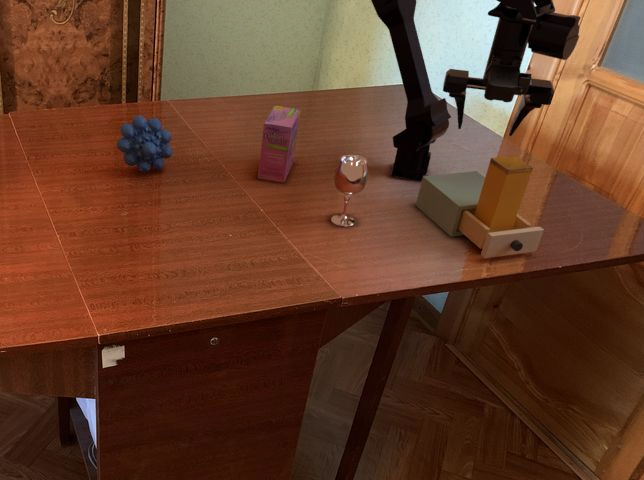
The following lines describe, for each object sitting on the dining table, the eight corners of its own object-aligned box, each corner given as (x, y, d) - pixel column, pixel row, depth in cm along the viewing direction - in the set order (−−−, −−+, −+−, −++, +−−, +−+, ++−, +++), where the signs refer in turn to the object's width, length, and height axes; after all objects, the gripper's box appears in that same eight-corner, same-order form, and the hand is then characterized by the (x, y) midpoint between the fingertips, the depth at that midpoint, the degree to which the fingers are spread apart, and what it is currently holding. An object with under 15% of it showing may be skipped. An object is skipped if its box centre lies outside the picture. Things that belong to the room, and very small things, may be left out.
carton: (486, 239, 133) (508, 170, 125) (470, 226, 136) (490, 158, 128) (509, 236, 134) (533, 167, 126) (493, 223, 137) (515, 155, 129)
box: (284, 183, 153) (292, 126, 146) (257, 179, 154) (263, 122, 147) (293, 163, 161) (301, 108, 153) (267, 159, 162) (273, 105, 155)
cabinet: (505, 230, 140) (515, 200, 136) (450, 236, 137) (459, 206, 133) (468, 199, 149) (476, 170, 146) (415, 205, 147) (422, 176, 143)
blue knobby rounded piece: (124, 184, 150) (122, 126, 143) (114, 170, 155) (112, 113, 148) (178, 177, 154) (180, 119, 146) (167, 163, 159) (168, 107, 151)
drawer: (540, 254, 131) (548, 232, 128) (488, 261, 129) (495, 239, 126) (497, 220, 141) (504, 199, 138) (448, 226, 138) (454, 205, 136)
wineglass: (360, 216, 142) (372, 156, 135) (356, 230, 138) (368, 169, 131) (330, 211, 144) (340, 151, 136) (324, 224, 139) (334, 163, 132)
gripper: (453, 53, 130) (432, 140, 139) (569, 66, 125) (539, 155, 135) (454, 36, 138) (434, 119, 148) (563, 48, 134) (535, 133, 143)
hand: (484, 131), depth 143 cm, fingers open, 9 cm apart
